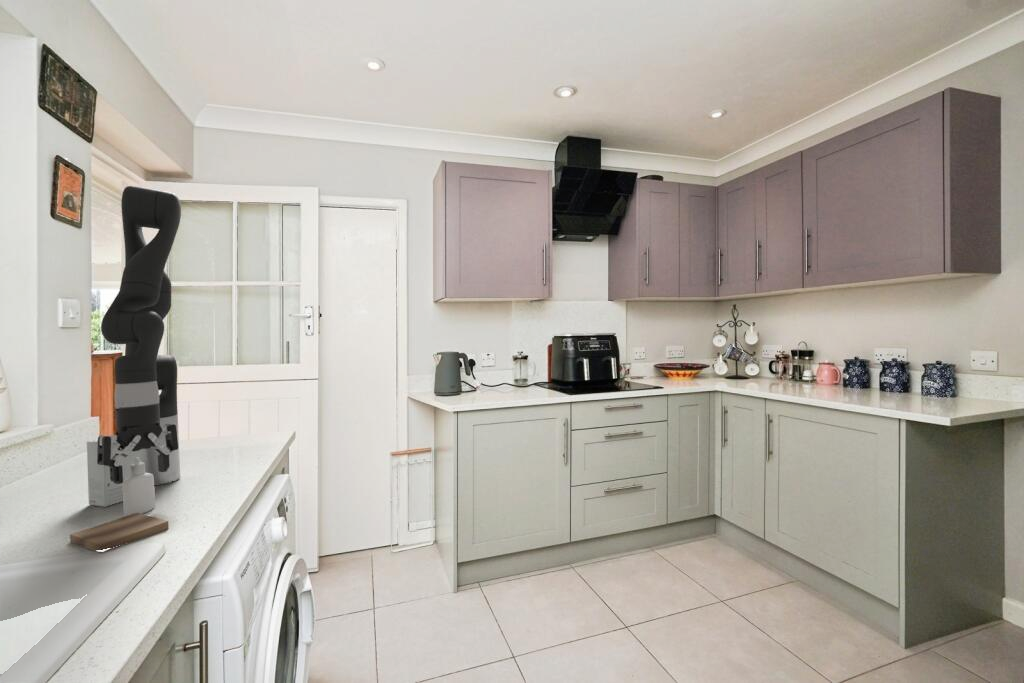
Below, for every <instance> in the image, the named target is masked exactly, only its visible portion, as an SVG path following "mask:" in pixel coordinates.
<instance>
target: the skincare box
mask: <svg viewBox="0 0 1024 683" xmlns="http://www.w3.org/2000/svg"><path fill="white" fill-rule="evenodd" d="M118 445H119V443H118V442H117V441H116V440H115V441H114V443H113V445H112V446H111V457H112V456H113V454H114V451H115V450H116V448H117V447H118ZM97 446H98V438H97V439H91V440H89V441H86V453H87V454H86V455H87V457H86V458H87V460H86V462H87V463H86V464H87V483H88V484H87V487H88V489H87V490H88V505H90V506H97V507H101V508H107V506H108V507H110V506H112V504H113V505H116V504H119V502H120V503H123V488H122V485H123V483H121V484H115V483H114V482H112V481H111V480H110V467H109V466H104V465H98V464H97ZM137 457H139V458H140V461H141V450H139V451H131V452H130V454H129V455H128V456H127V457H125V459H124V460H123V462H122V463H121V464H120V466H122V470H123V481H124V480H125V479H126V478H128V477H129V476H131V475H132V474H131V465H132V464H133V463H134V462H135V458H137ZM115 503H116V504H115ZM109 505H110V506H109Z"/></svg>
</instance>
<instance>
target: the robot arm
mask: <svg viewBox="0 0 1024 683" xmlns="http://www.w3.org/2000/svg"><path fill="white" fill-rule="evenodd" d="M120 203H121V204H120V206H121V220H122V230H123V240H124V241H123V242H124V258H125V263H124V264H125V265H124V267H123V268H124V269H123V271H122V276H121V279H120V280H121V282H120V286H119V291H118V293H117V295H116V296H115V297H114V299H113V301H112V303H111V304H110V306H109V307H108V308H107V311H106V312H105V313H104V316H103V318H102V320H101V323H100V325H101V326H100V329H101V330H100V332H101V334H102V336H103V338H104V340H105V341H106V342H108V343H110V344H112V345H113V344H114V345H125V351H124V355H122V356H118V357H117V358H116V359H115V360H114V382H115V383H114V384H115V386H114V389H115V390H114V411H115V412H114V413H115V414H114V415H115V427H116V432H115V434H112V435H111V434H110V435H100V436H98V437H97V439H98V446H97V464H98V465H104V466H109V467H110V480H111V481H112V482H114V483H115V484H121V483H123V470H122V466H120V464H121V463H122V462H123V460H124V459H125V457H127V456H128V455H129V454H130V452H131V451H139V450H141V462H143V463H145V473H151V474H153V476H154V485H155V486H161V485H164V484H169V483H172V481H173V482H175V481H177V480H179V479H180V478H181V462H180V461H181V460H180V455H181V454H180V436H179V417H178V365H177V364H178V363H177V360H176V359H175V357H174V356H173V355H172V354H159V350H160V346H161V343H162V340H163V336H164V334H165V322H164V320H165V318H166V317H167V315H168V314H169V312H170V310H171V307H172V282H171V279H170V278H169V275H168V274H167V273H166V271H165V267H166V263H167V261H168V259H169V256H170V253H171V251H172V247H173V245H174V242H175V239H176V235H177V233H178V230H179V226H180V223H181V216H182V207H181V206H182V205H181V201H180V198H179V197H178V195H177V194H176V193H174V192H170V191H165V190H159V189H155V188H154V189H152V188H147V187H140V186H137V185H136V186H135V185H134V186H133V185H128V186H125V188H123V191H122V194H121V202H120ZM143 228H149V229H153V230H154V229H155V230H158V231H157V233H156V234H155V236H154V237H153V238H152V239H151V240H150V242H148V243H147V242H146V240H145V237H144V234H143V233H144V232H143ZM159 391H161V392H159ZM115 440H116V441H117V442H118V443H119V445H118V447H117V448H116V450H115V451H114V454H113V456H112V457H111V446H112V445H113V443H114V441H115ZM160 484H161V485H160Z"/></svg>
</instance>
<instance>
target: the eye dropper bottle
mask: <svg viewBox="0 0 1024 683" xmlns="http://www.w3.org/2000/svg"><path fill="white" fill-rule="evenodd" d="M131 474H132V475H131V476H129V477H128V478H126V479H125V480H124V481H123V485H122V488H123V501H122V504H123V505H122V509H123V511H122V512H123V517H126V516H129V515H132V514H135V513H141V514H145V513H147V512H148V513H149V512H151V510H153V509H155V507H156V494H155V486H154V476H153V474H151V473H145V463H143V462H141V461H140V458H139V457H137V458H135V462H134V463H133V464H132V465H131Z"/></svg>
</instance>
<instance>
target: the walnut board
mask: <svg viewBox="0 0 1024 683" xmlns="http://www.w3.org/2000/svg"><path fill="white" fill-rule="evenodd" d="M166 530H169V520H165V519H163V518H159V517H155V516H150V515H148V514H145V513H143V514H141V513H135V514H132V515H129V516H122V517H119V518H117V519H114V520H110V521H108V522H104V523H102V524H98V525H95V526H92V527H89V528H86V529H82V530H79V531H76V532H72V533H70V534H69V541H70V543H71V542H72V543H71V544H74V543H75V545H77V544H78V546H80V545H81V546H80V547H82V546H83V548H85V547H86V549H88V548H89V549H88V550H90V549H91V551H93V550H103V549H107V548H113V547H116V546H119V545H122V544H125V545H127V544H126V543H128V544H129V542H130V543H133V542H135V541H138V540H141V539H144V538H146V537H149V536H152V535H154V534H158V533H161V532H163V531H166ZM122 546H123V545H122ZM119 547H120V546H119Z"/></svg>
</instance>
